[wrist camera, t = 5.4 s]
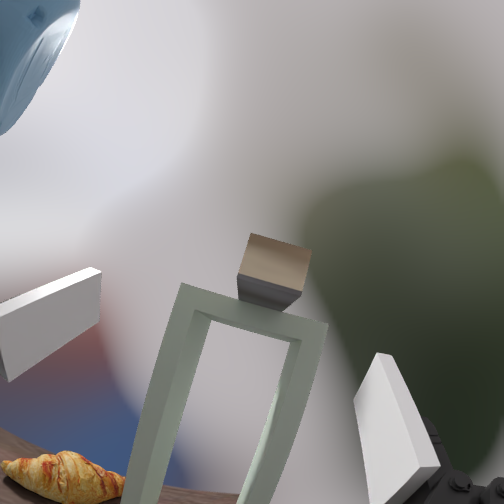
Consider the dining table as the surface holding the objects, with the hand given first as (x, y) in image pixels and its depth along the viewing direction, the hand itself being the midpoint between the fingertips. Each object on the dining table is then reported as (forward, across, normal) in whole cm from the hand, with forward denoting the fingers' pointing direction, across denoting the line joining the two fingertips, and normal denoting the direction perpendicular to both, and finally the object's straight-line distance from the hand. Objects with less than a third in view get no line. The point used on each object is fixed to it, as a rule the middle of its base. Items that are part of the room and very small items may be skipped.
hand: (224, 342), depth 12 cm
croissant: (+2, +18, +37) cm, 41 cm away
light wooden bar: (+16, 0, +5) cm, 17 cm away
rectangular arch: (+1, 0, +35) cm, 35 cm away
